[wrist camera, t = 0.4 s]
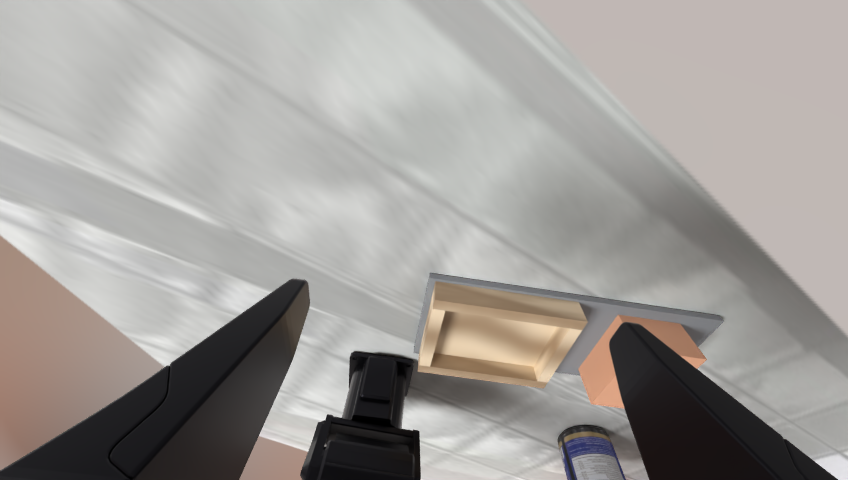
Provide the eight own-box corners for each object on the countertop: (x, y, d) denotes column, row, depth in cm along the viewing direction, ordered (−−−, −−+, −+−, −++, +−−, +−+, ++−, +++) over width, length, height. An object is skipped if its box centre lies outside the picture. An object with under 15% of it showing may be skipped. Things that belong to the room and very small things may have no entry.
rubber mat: (654, 380, 34) (657, 386, 33) (414, 347, 33) (413, 352, 32) (719, 315, 28) (724, 321, 27) (430, 273, 27) (429, 277, 26)
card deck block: (631, 376, 32) (649, 411, 30) (578, 369, 32) (591, 404, 29) (680, 323, 28) (706, 359, 25) (617, 314, 28) (638, 349, 25)
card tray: (538, 368, 32) (543, 388, 31) (419, 352, 32) (417, 371, 30) (578, 302, 27) (587, 321, 25) (435, 281, 26) (434, 299, 25)
